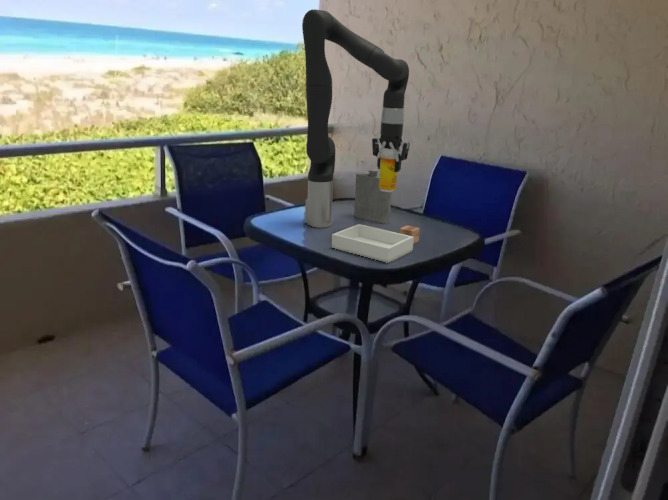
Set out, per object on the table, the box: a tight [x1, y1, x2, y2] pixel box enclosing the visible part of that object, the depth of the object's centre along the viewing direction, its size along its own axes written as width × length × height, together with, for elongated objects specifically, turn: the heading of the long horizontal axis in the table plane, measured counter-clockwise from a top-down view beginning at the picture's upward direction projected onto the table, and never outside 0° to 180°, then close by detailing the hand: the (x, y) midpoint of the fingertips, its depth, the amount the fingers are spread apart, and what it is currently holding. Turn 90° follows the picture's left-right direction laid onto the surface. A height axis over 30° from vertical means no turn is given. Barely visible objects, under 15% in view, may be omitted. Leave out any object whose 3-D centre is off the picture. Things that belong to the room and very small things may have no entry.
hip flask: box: [353, 168, 392, 225], centre depth 225 cm, size 16×4×20 cm, turn 54°
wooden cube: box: [399, 225, 420, 245], centre depth 203 cm, size 5×5×5 cm
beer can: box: [378, 148, 399, 193], centre depth 201 cm, size 6×6×15 cm
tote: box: [331, 223, 414, 264], centre depth 194 cm, size 22×16×5 cm
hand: (388, 170), depth 201 cm, fingers closed on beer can, 6 cm apart
